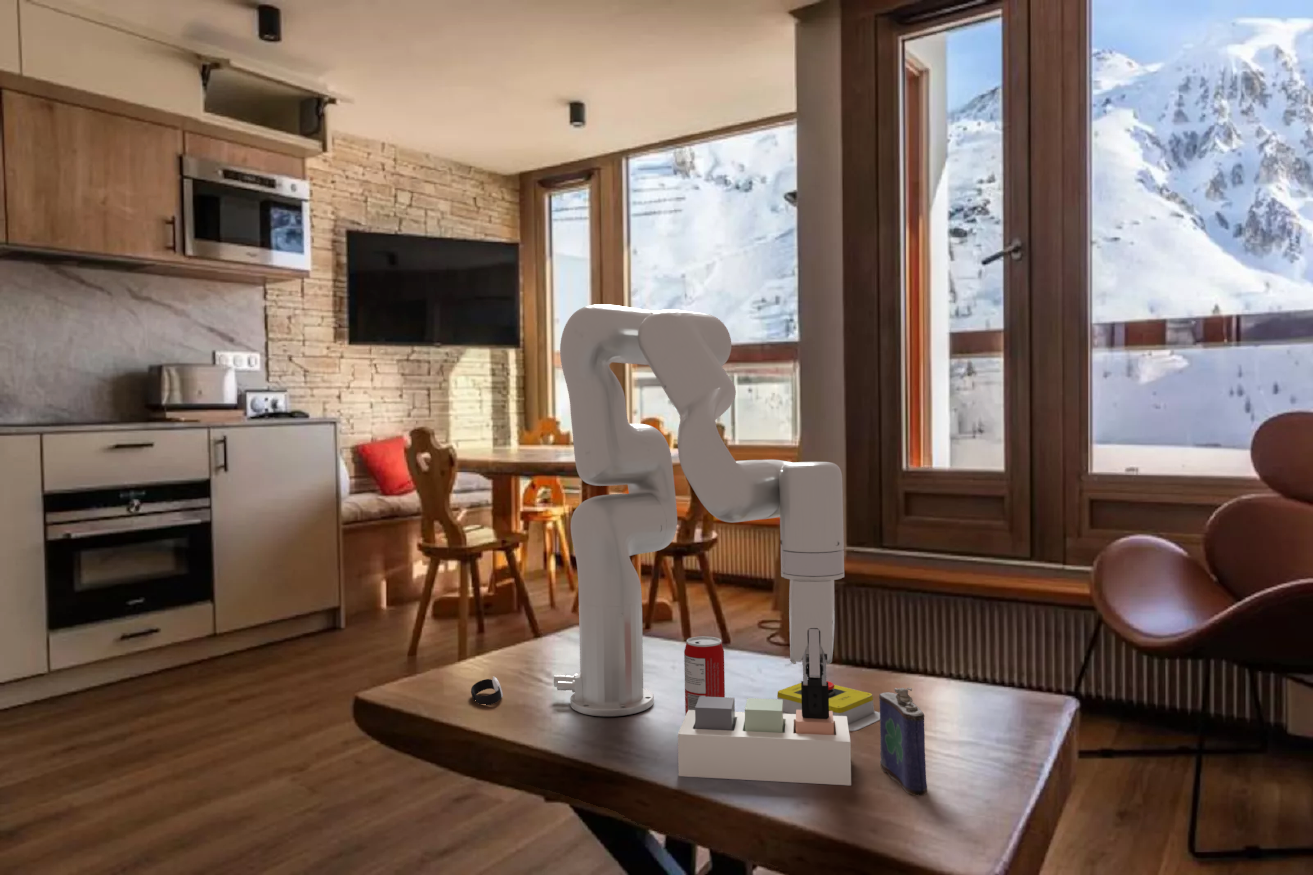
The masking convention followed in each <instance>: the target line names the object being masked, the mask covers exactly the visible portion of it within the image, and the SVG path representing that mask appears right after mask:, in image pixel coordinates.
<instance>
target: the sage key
mask: <svg viewBox="0 0 1313 875" xmlns="http://www.w3.org/2000/svg"><path fill="white" fill-rule="evenodd" d="M744 712H745V731H753V732H776V733H783V714H784V713H783V699H777V698H775V699H774V698H753V697H751V698H750V697H747V699H746V703H745V707H744Z"/></svg>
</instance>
